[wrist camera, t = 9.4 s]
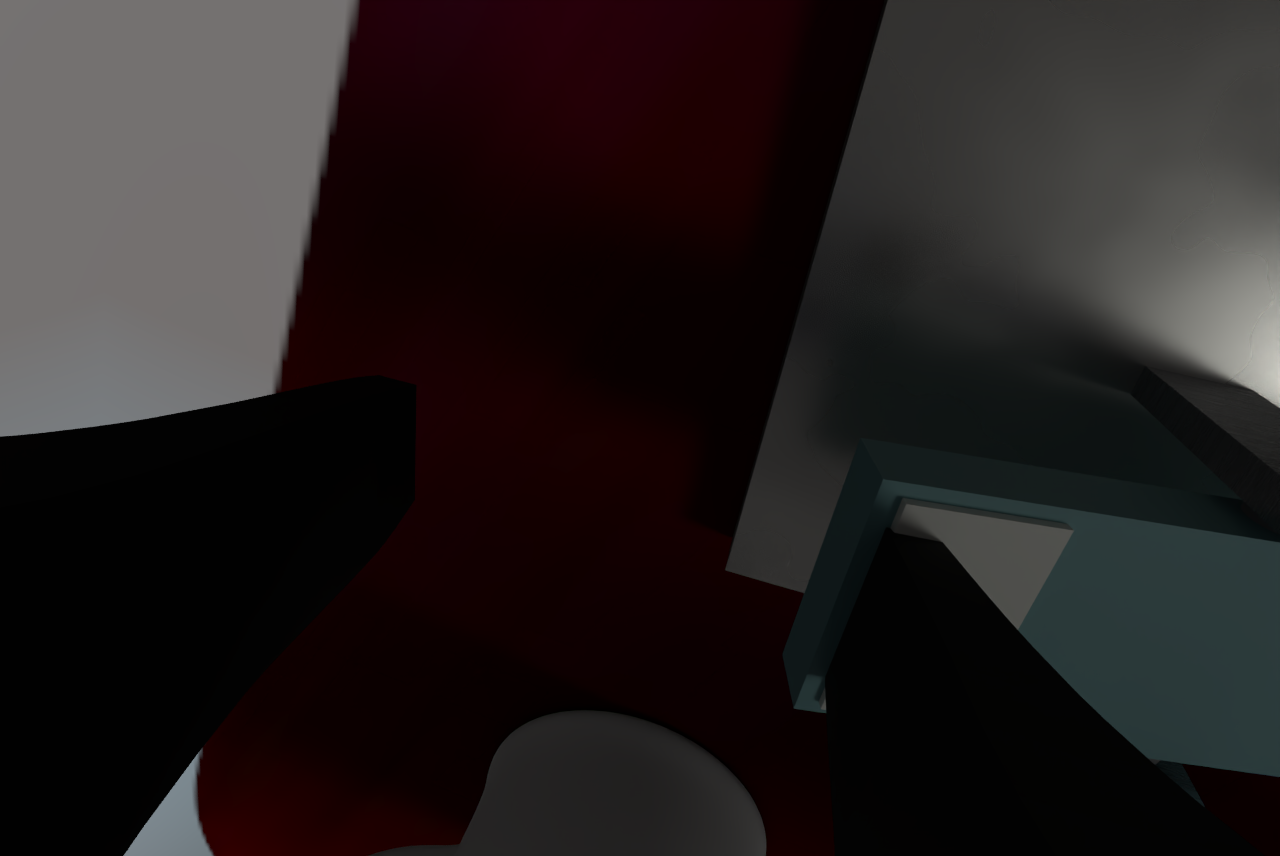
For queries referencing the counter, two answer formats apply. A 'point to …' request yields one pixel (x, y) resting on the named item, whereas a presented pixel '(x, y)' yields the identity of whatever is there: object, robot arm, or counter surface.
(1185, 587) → the teal tile with stripe
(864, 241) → the panel
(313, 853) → the counter surface
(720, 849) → the mug
